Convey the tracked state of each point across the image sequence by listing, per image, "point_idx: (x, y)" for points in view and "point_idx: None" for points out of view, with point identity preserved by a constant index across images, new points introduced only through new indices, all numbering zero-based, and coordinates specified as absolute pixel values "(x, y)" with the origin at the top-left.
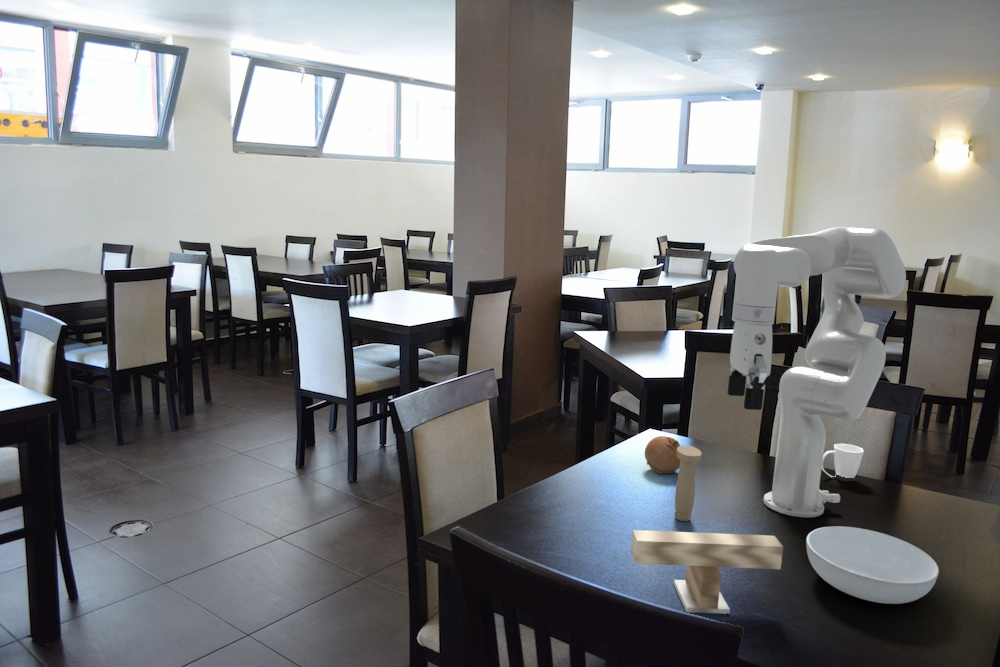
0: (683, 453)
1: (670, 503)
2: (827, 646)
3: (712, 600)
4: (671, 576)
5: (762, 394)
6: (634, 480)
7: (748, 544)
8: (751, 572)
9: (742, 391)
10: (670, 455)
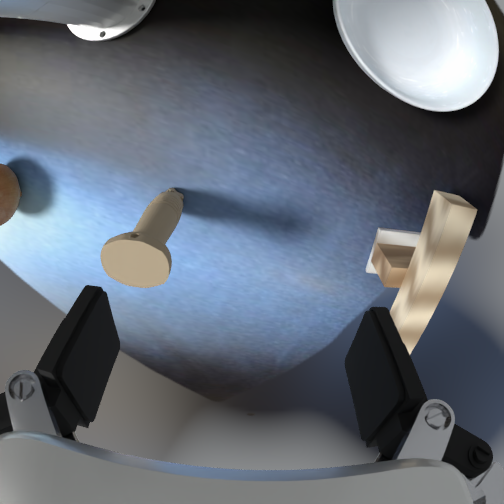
0: (155, 282)
1: (116, 201)
2: (490, 166)
3: None
4: (349, 266)
5: (412, 371)
6: (49, 232)
7: (459, 253)
8: (355, 161)
9: (99, 312)
10: (5, 195)
